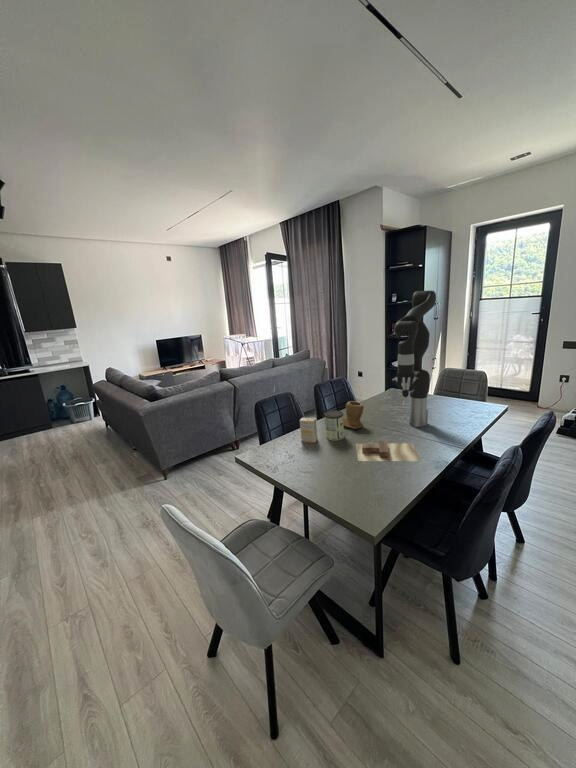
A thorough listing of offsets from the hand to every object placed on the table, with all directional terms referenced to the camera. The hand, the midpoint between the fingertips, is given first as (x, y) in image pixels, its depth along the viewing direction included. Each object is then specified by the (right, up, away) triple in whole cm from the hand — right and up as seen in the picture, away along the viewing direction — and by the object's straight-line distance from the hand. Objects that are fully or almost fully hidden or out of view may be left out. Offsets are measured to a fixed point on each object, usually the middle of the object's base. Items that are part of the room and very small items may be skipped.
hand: (405, 396), depth 153 cm
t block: (-16, -27, -2) cm, 31 cm away
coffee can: (-32, -24, +20) cm, 45 cm away
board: (-11, -28, -3) cm, 30 cm away
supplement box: (-47, -26, +18) cm, 56 cm away
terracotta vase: (-20, -19, +34) cm, 43 cm away
